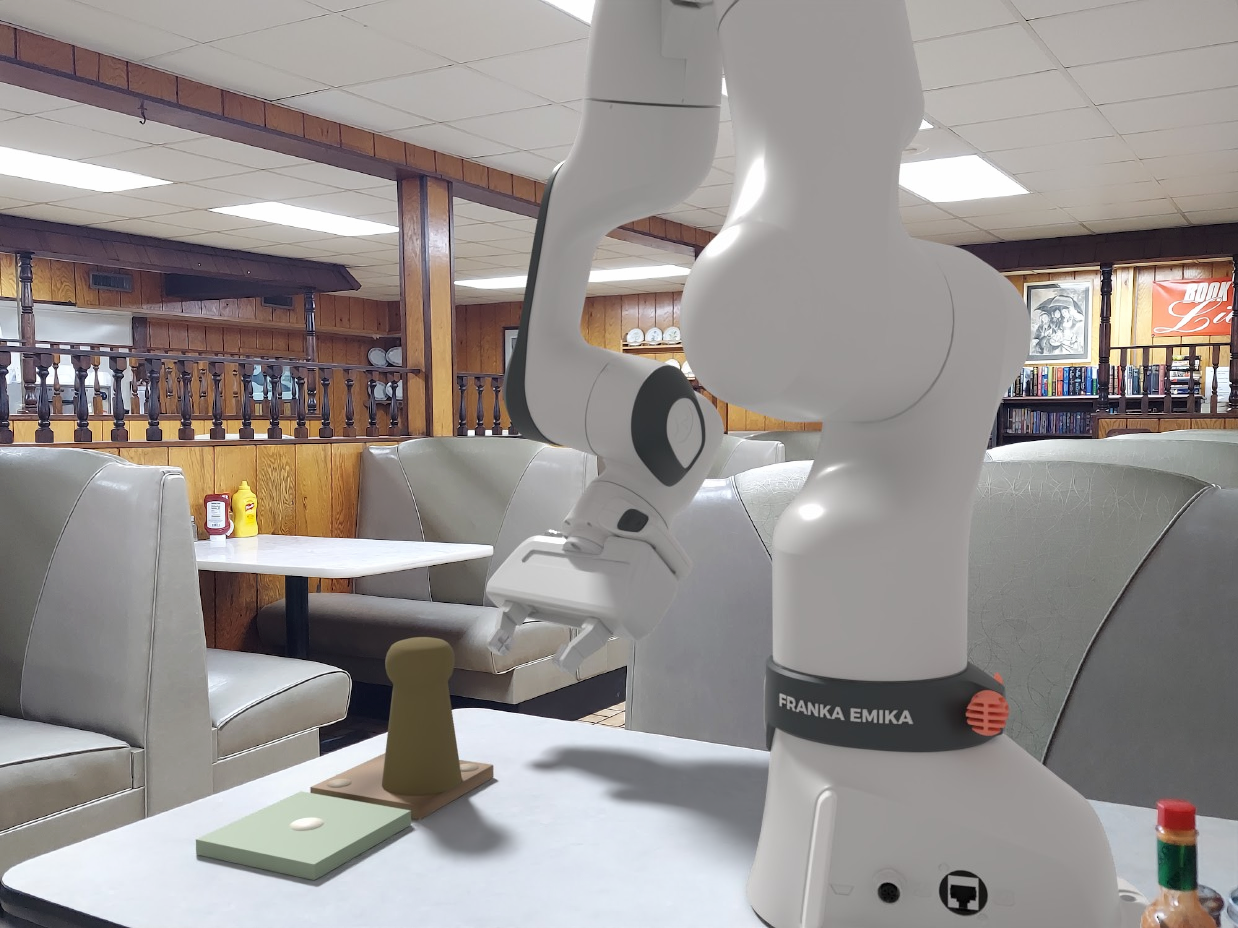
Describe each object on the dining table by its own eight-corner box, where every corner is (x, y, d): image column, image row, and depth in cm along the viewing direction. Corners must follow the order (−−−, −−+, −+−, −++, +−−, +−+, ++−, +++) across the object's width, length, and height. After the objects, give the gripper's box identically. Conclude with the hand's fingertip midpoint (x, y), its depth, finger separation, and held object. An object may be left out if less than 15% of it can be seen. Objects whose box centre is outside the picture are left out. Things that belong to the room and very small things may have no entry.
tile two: (493, 776, 84) (493, 763, 84) (419, 819, 75) (419, 804, 75) (392, 761, 88) (392, 749, 88) (310, 799, 79) (310, 786, 79)
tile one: (411, 824, 74) (410, 809, 74) (314, 879, 65) (313, 863, 65) (301, 804, 78) (301, 790, 78) (196, 853, 69) (195, 838, 69)
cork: (469, 769, 83) (467, 631, 83) (452, 796, 77) (449, 647, 77) (394, 768, 83) (392, 631, 83) (371, 795, 77) (368, 647, 77)
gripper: (522, 508, 102) (438, 621, 96) (671, 520, 87) (582, 655, 80) (558, 549, 105) (479, 661, 99) (708, 568, 90) (625, 702, 84)
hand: (526, 659), depth 90 cm, fingers open, 8 cm apart
